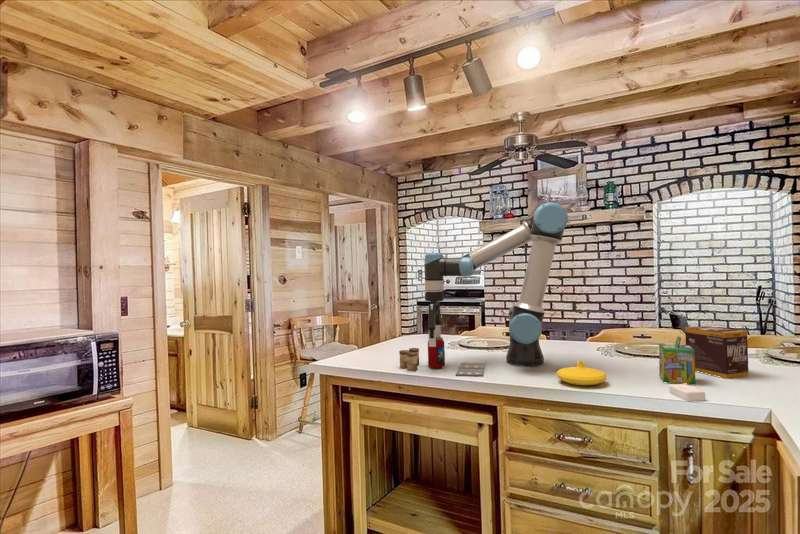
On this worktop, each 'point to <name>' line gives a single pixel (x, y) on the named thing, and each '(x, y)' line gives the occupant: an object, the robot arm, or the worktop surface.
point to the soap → (687, 392)
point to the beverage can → (436, 354)
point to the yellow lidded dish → (581, 375)
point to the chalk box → (677, 363)
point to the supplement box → (719, 350)
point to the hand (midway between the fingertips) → (434, 343)
